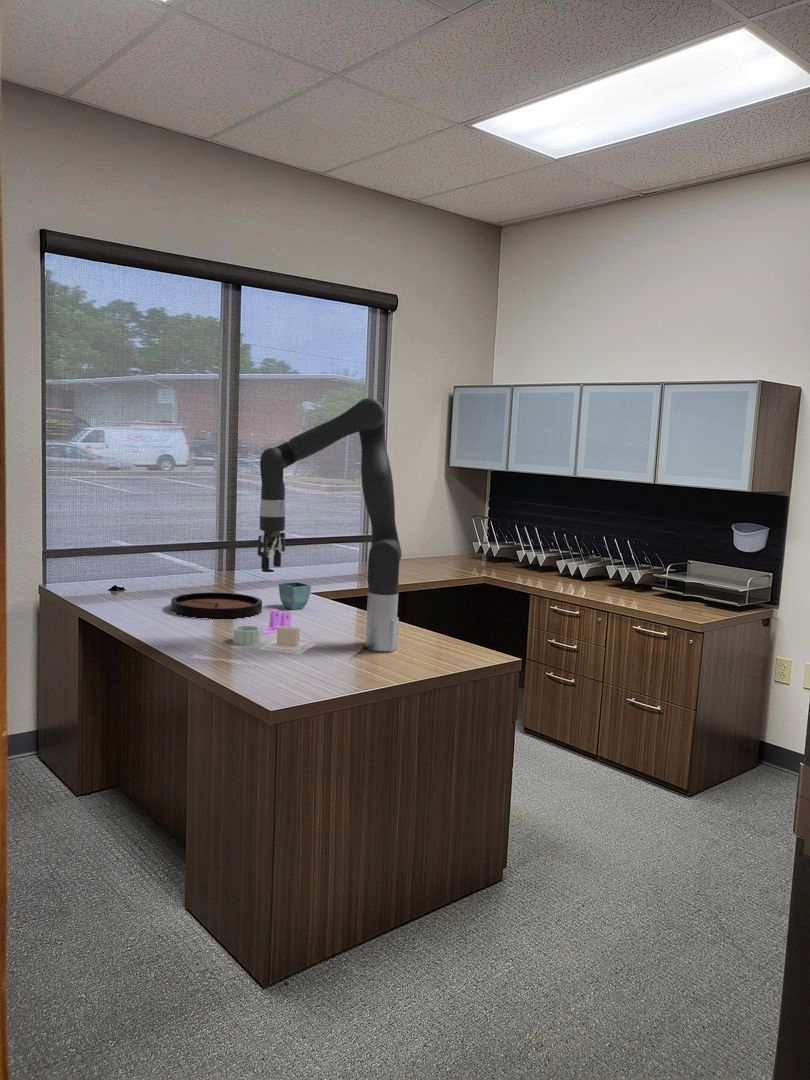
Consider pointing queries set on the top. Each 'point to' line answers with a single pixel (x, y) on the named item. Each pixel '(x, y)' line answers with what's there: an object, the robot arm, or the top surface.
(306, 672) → the top surface
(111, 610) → the top surface
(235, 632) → the cup
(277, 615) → the bracket
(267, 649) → the mat
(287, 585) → the flower pot
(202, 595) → the wall clock
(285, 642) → the cover
